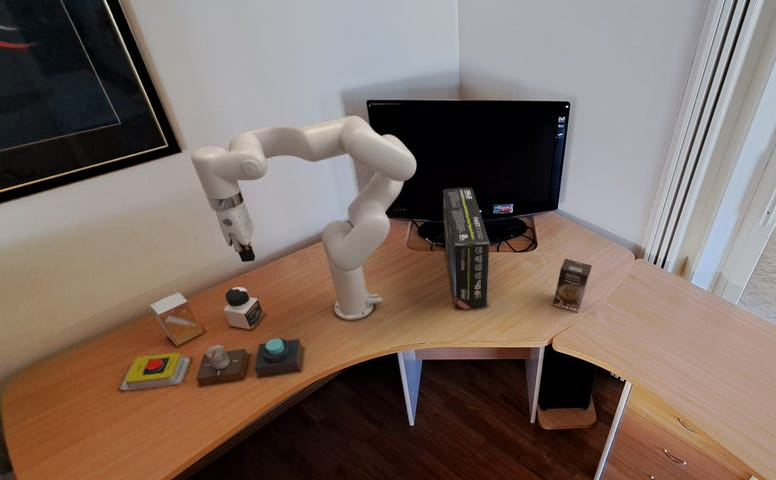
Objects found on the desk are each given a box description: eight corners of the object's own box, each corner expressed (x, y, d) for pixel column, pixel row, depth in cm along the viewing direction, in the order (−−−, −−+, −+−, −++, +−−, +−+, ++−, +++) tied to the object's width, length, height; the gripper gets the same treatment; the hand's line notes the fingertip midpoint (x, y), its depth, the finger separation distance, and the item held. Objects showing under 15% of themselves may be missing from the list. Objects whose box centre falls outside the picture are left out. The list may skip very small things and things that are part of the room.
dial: (214, 358, 125) (207, 345, 121) (231, 356, 125) (225, 343, 122) (210, 370, 121) (203, 357, 118) (228, 368, 122) (221, 355, 119)
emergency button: (174, 373, 118) (111, 381, 116) (181, 383, 121) (120, 391, 119) (184, 348, 125) (125, 354, 123) (190, 358, 128) (133, 365, 126)
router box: (443, 250, 173) (441, 187, 156) (471, 248, 175) (472, 186, 157) (455, 311, 147) (454, 244, 129) (487, 308, 149) (491, 242, 131)
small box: (177, 347, 131) (157, 315, 123) (168, 336, 134) (148, 304, 126) (204, 332, 136) (187, 300, 128) (195, 322, 139) (178, 291, 131)
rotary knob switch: (248, 355, 130) (245, 348, 128) (243, 379, 123) (239, 372, 121) (207, 361, 128) (203, 353, 126) (200, 385, 121) (195, 378, 119)
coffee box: (552, 306, 151) (559, 268, 140) (557, 294, 155) (564, 257, 145) (578, 313, 148) (588, 275, 138) (582, 302, 153) (592, 264, 142)
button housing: (302, 348, 133) (297, 334, 129) (300, 371, 126) (294, 357, 122) (263, 353, 131) (257, 339, 127) (258, 377, 124) (252, 363, 120)
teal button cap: (285, 342, 127) (283, 337, 125) (283, 353, 123) (281, 348, 122) (268, 344, 126) (266, 339, 124) (266, 356, 123) (264, 351, 121)
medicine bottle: (251, 330, 137) (238, 301, 130) (230, 326, 138) (217, 297, 131) (264, 314, 143) (253, 286, 135) (244, 311, 144) (232, 282, 136)
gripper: (236, 213, 103) (259, 274, 115) (247, 183, 114) (267, 243, 126) (201, 215, 102) (228, 278, 114) (215, 186, 113) (238, 245, 125)
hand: (248, 259), depth 120 cm, fingers closed
